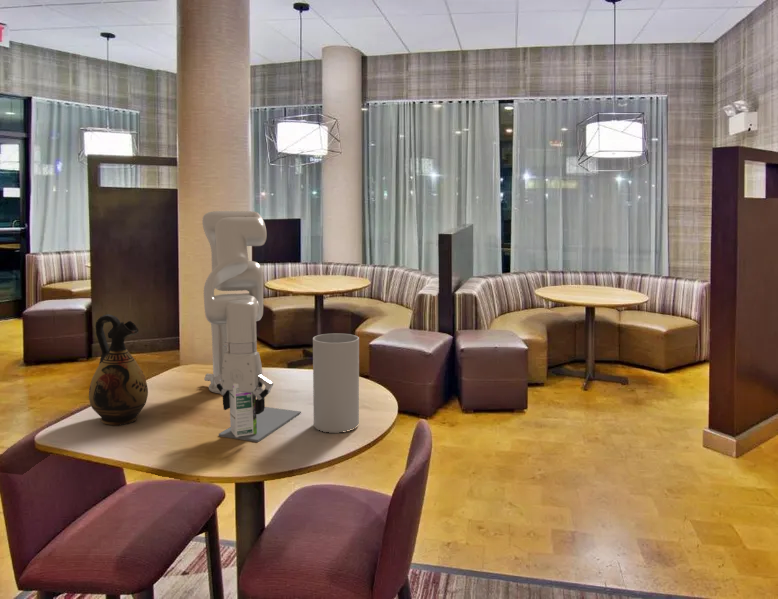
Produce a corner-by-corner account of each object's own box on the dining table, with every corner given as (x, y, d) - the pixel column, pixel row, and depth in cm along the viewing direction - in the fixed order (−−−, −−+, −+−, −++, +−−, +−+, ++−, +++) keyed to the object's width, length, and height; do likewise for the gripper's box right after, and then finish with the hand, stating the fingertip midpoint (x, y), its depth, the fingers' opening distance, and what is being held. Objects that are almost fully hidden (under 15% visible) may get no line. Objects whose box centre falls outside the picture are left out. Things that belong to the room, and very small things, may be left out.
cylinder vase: (317, 418, 182) (316, 333, 178) (360, 419, 181) (360, 333, 178) (310, 433, 169) (309, 342, 166) (356, 434, 169) (357, 343, 165)
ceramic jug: (160, 413, 185) (155, 312, 180) (128, 431, 170) (122, 322, 165) (108, 408, 188) (102, 309, 184) (73, 426, 173) (65, 319, 169)
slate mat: (218, 436, 167) (218, 433, 167) (265, 408, 190) (265, 406, 189) (258, 442, 163) (258, 439, 163) (301, 413, 186) (301, 411, 186)
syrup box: (235, 438, 164) (234, 384, 162) (230, 430, 169) (228, 378, 167) (257, 434, 167) (256, 381, 165) (251, 427, 172) (249, 375, 170)
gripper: (205, 347, 164) (207, 411, 166) (263, 353, 158) (265, 419, 161) (221, 341, 171) (223, 402, 173) (278, 347, 165) (279, 410, 168)
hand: (243, 410), depth 167 cm, fingers open, 9 cm apart
